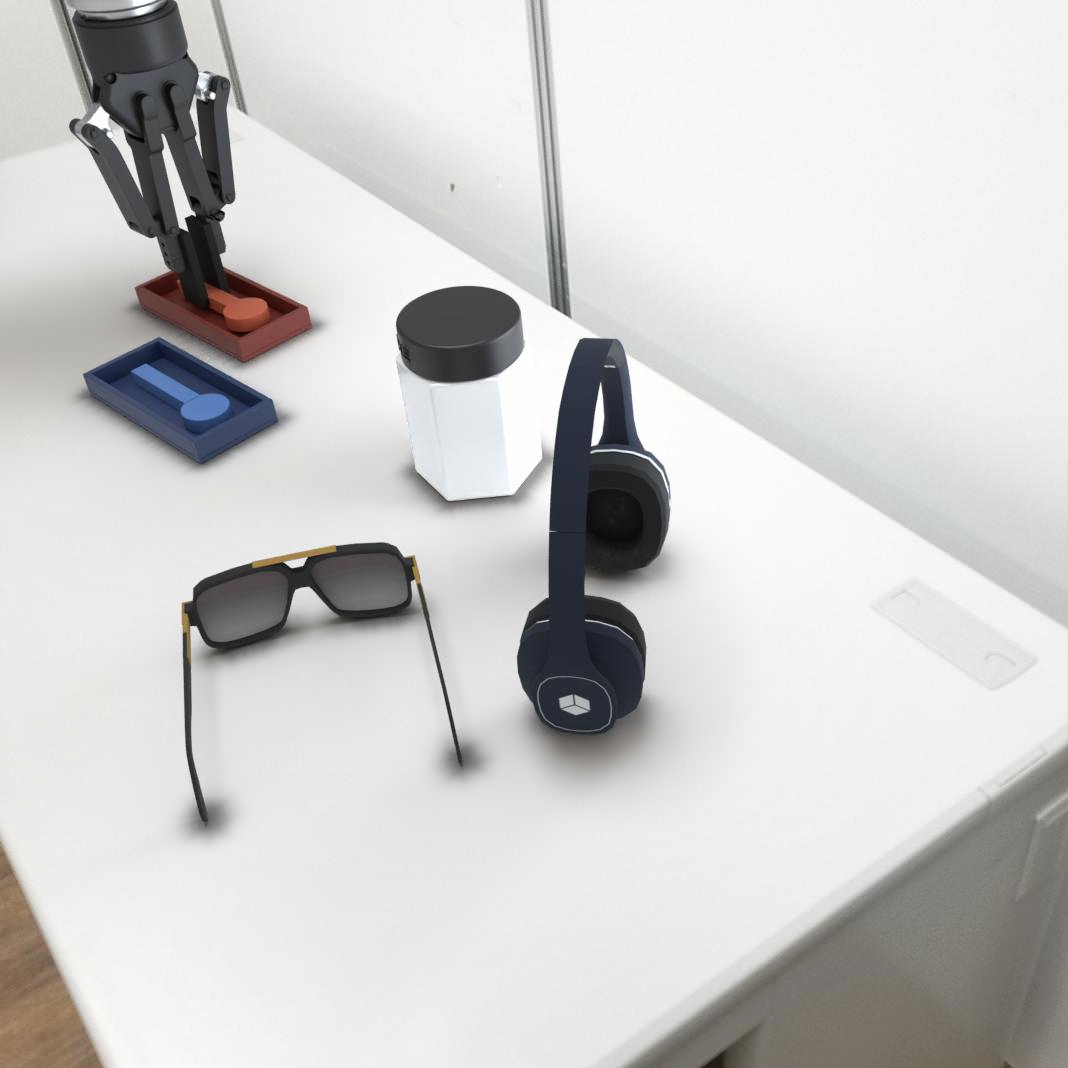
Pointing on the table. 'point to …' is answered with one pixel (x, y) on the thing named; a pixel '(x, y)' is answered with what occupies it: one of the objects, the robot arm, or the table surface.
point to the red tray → (211, 325)
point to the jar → (468, 391)
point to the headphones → (594, 552)
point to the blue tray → (166, 421)
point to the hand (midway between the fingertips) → (207, 296)
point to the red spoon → (237, 309)
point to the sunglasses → (266, 595)
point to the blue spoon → (185, 400)
